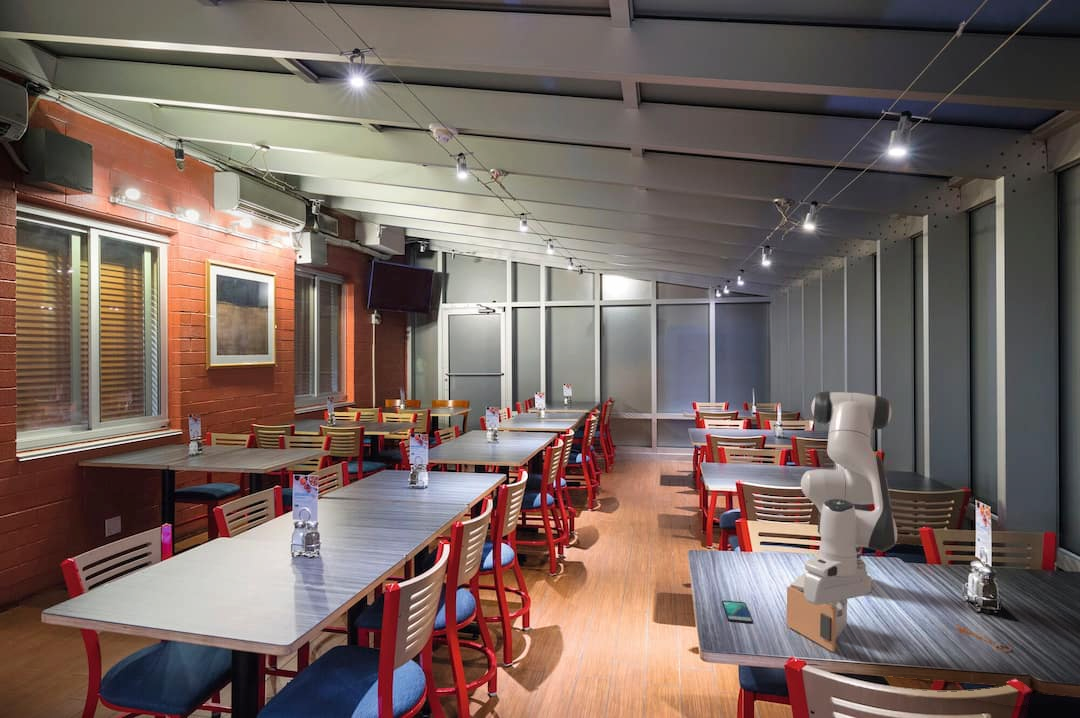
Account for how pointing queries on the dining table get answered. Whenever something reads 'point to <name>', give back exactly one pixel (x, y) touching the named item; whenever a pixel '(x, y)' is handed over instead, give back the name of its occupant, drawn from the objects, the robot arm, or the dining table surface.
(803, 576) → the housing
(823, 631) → the hatch
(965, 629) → the key
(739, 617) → the smartphone
